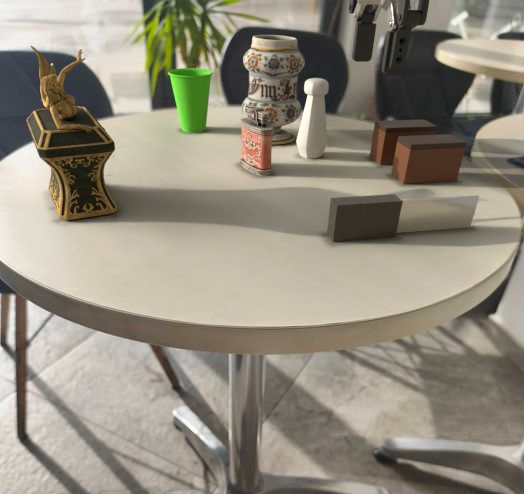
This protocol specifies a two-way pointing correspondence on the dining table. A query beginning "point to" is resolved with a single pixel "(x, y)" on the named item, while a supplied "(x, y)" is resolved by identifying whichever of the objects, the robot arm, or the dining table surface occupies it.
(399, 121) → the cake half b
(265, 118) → the lighter
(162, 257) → the dining table surface
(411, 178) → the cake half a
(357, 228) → the knife
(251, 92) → the apothecary jar
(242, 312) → the dining table surface
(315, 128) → the salt shaker
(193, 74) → the cup
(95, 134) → the decorative box
